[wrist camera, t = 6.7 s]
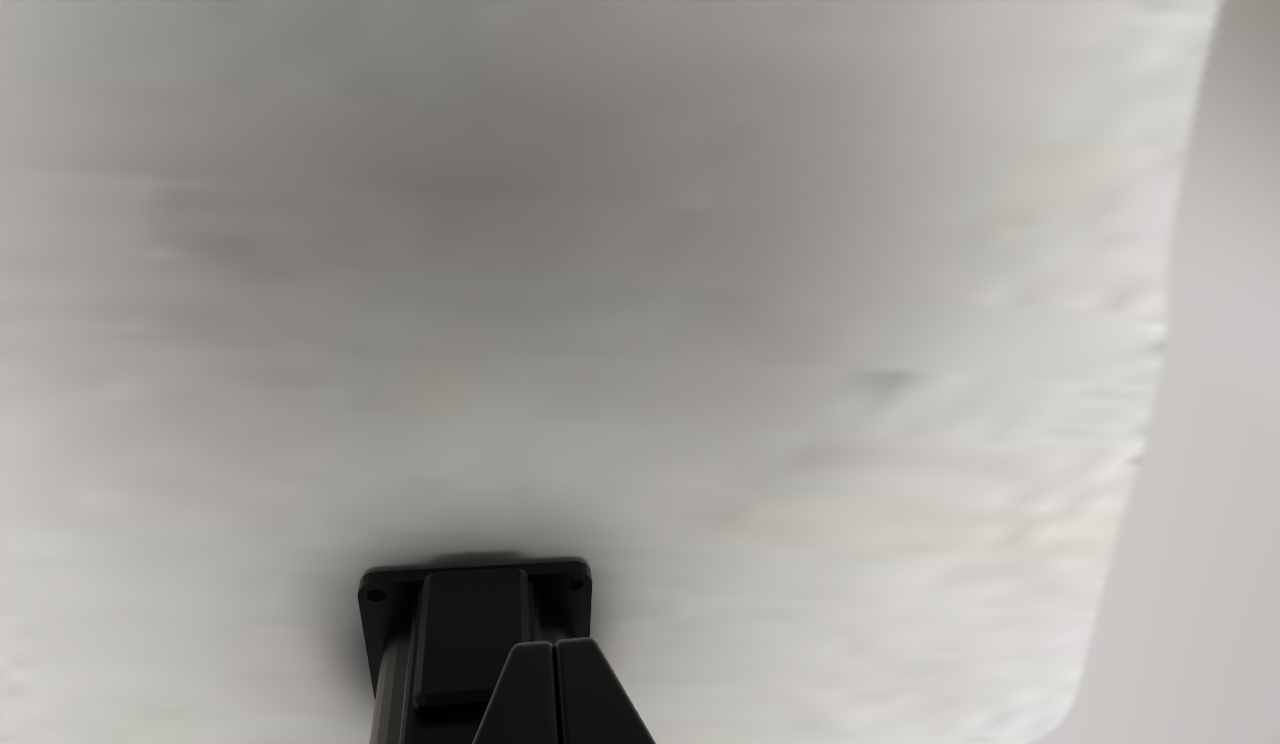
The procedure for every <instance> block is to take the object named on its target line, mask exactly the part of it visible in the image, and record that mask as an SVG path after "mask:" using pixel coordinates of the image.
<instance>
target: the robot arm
mask: <svg viewBox="0 0 1280 744" xmlns="http://www.w3.org/2000/svg"><path fill="white" fill-rule="evenodd" d="M573 578H579V579H576V580H570V579H573ZM373 589H380V590H381V591H375V590H373ZM591 597H592V578H591V571H590V568H589V567H588V566H587V565H586V564H584V563H581V562H558V563H539V564H520V565H501V566H482V567H463V568H444V569H425V570H405V571H386V572H374V573H369V574H367V575H365V576H364V577H363V578H362V579H361V580H360V585H359V591H358V601H359V607H360V613H361V619H362V625H363V631H364V637H365V643H366V649H367V655H368V661H369V667H370V673H371V679H372V685H373V691H374V697H375V707H374V714H373V722H372V729H371V737H370V744H656V743H655V741H654V740H653V738H652V736H651V734H650V733H649V731H648V729H647V728H646V726H645V724H644V722H643V721H642V719H641V717H640V716H639V714H638V712H637V710H636V709H635V707H634V705H633V704H632V702H631V700H630V699H629V697H628V695H627V693H626V692H625V690H624V688H623V687H622V685H621V683H620V681H619V680H618V678H617V676H616V675H615V673H614V671H613V669H612V668H611V666H610V664H609V663H608V661H607V659H606V658H605V656H604V654H603V652H602V651H601V649H600V647H599V646H598V644H597V643H596V642H595V641H594V640H593V639H592V638H589V637H590V617H591Z"/></svg>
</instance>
